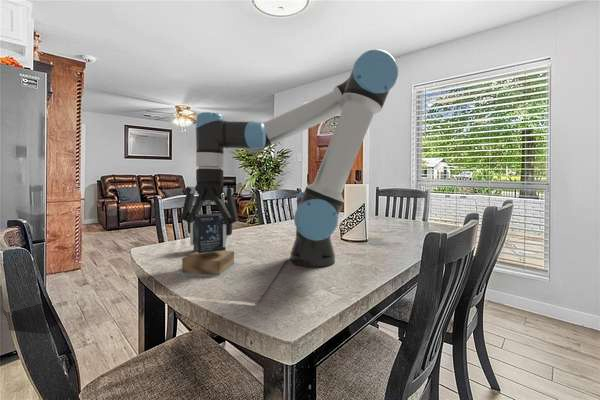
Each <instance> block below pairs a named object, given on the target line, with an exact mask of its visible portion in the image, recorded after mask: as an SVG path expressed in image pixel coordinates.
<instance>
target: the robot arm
mask: <svg viewBox="0 0 600 400" xmlns="http://www.w3.org/2000/svg"><path fill="white" fill-rule="evenodd" d="M349 75H350V76H349V77H348V78H347V79H345V81H343V82H342V83H340V84H339V85H335V86H334V87H333V90H332V91H330V92H329V93H325V94H324V95H322V96H319V97H317V98H315V99H313V100H310V101H309V102H306V103H304V104H302V105H300V106H297V107H296V108H293V109H291V110H288V111H287V112H284V113H282V114H280V115H278V116H275V117H274V118H271V119H269V120H266V121H265V122H261V121H228V120H227V121H226V120H225V119H224V116H223V115H222V114H221V113H218V112H208V111H205V112H200V113H198V114H197V116H196V123H195V125H196V126H195V138H196V139H195V140H196V141H195V142H196V144H195V145H196V150H195V151H196V152H195V155H196V158H195V160H196V161H195V167H197V169H196V170H195V173H196V174H195V175H196V177H195V178H196V179H195V180H196V185H195V186H186V187H185V199H184V202H183V209H182V212H181V217H180V219H181V220H182V221H185V222H187V233H188V234H190V235H189V236H190V237H189V243H190V244H189V245H190V246H194V215H195V214H199V213H200V210H201V209H202V207H203V205H204V203H205V202H206V201H210V202H214V204H216V205H217V208H218V210H219V213H220V214H222V216H223V218H224V220H225V222H226V223H225V224H223V247H226V248H227V247H229V246H230V236H231V235H233V224H234V223H236V222H238V221H239V214H238V211H237V210H238V209H237V205H236V202H235V197H234V194H235V189H234V188H233V187H230V188H229V187H225V186H224V170H223V169H222V168H224V150H225V149H242V150H244V151H246V152H248V153H250V154H259V153H261V152H262V151H263V150H265V149H266V148H269V147H270V146H273V145H274V144H277V143H279V142H280V141H284V140H286V139H287V138H290V137H293V136H294V135H296V134H299V133H301V132H304V131H306V130H308V129H311V128H313V127H315V126H317V125H319V124H322V123H323V122H326V121H328V120H331V119H333V118H335V117H338V116H339V118H338V120H337V123H336V124H335V125H336V126H335V128H334V130H333V133H332V136H331V137H330V141H329V143H328V145H327V148H326V149H325V150H326V151H325V153H324V156H323V158H322V161H321V163H320V166H319V168H318V170H317V173H316V176H315V179H314V181H313V182H312V183H311V184H308V185H306V187H305V189H304V191H301V192H299V193H297V195H296V196H297V197H296V201H295V202H296V210H295V213H294V225H295V240H294V243H293V245H292V247H291V252H290V257H289V261H290V262H292V263H293V264H296V265H298V266H302V267H313V268H316V267H317V268H318V267H319V268H320V267H328V266H332V265H334V264H335V262H336V254H335V250H334V247H333V244H332V240H331V235H333V233H334V232H335V231H336V229H337V226H338V222H339V215H340V213H341V210H342V207H343V204H344V202H345V200H344V197H343V194H342V193H343V191H344V189H345V186H346V183H347V181H348V179H349V176H350V173H351V170H352V168H353V167H354V163H355V161H356V159H357V156H358V153H359V152H360V149H361V146H362V144H363V142H364V139H365V137H366V134H367V131H368V129H369V126H370V125H371V122H372V119H373V118H374V115H375V114H379V113H380V112H381V111H382V109H383V106H384V104H385V103H386V101H387V100H386V99H387V97H388V95H389V92H390V90H391V89H392V88H393V87H394V86H395V85H396V82H397V80H398V76H399V67H398V63H397V62H396V60H395V57H393V55H391V54H390V53H389V52H388V51H386V50H384V49H383V50H382V49H369V50H367V51H364V52H363V53H362V54H360V56H359V57H358V58H357V59H356V60H355V61H354V64H353V68H352V70H351V72H350V74H349ZM223 193H224V195H225V196H226V201H227V205H226V204H225V201H224V198H223V197H222V194H223ZM195 194H198V196H196V197H197V198H196V199H195V202H194V198H195V197H194V196H195ZM193 203H194V205H193ZM226 206H228V208H227V207H226Z"/></svg>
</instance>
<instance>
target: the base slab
mask: <svg viewBox="0 0 600 400" xmlns="http://www.w3.org/2000/svg"><path fill="white" fill-rule="evenodd" d="M181 260H182V261H181V265H182V266H181V268H182V269H181V270H182V272H183V273H196V274H210V275H221V274H222V273H223V272H224V271H226V270H227V269H228V268H230V267H231V266H232V265H233V264H234V263H235V251H234V250H232V251H231V250H225V251H214V252H205V253H198V252H197V251H196V252H194V251H193V252H192V253H191V254H189V255H187V256H185V257H183V258H182V259H181Z"/></svg>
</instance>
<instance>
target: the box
mask: <svg viewBox="0 0 600 400" xmlns="http://www.w3.org/2000/svg"><path fill="white" fill-rule="evenodd" d="M225 223H226V222H225V220H224V218H223V216H222V214H221V212H219V213H204V214H202V213H200V214H199V213H198V214H195V215H194V245H193V251H194V250H196V251H197V252H198V253H205V252H214V251H227V250H226V248H227V247H223V224H225Z"/></svg>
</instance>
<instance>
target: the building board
mask: <svg viewBox="0 0 600 400" xmlns="http://www.w3.org/2000/svg"><path fill="white" fill-rule="evenodd" d="M240 263H241V262H234V264H233V265H232V266H231V267H230V268H228V269H227V270H226V271H224V272H223V273H222V274H221V275H210V274H196V273H183V272H182V269H180V270H179V271H176V272H175V273H174V275H182V276H183V275H185V276H197V277H210V278H211V277H212V278H224V277H225V276H226V275H228V274H229V273H230V272H232V271H233V269H235V268H236V267H238V266H239V265H240Z"/></svg>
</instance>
